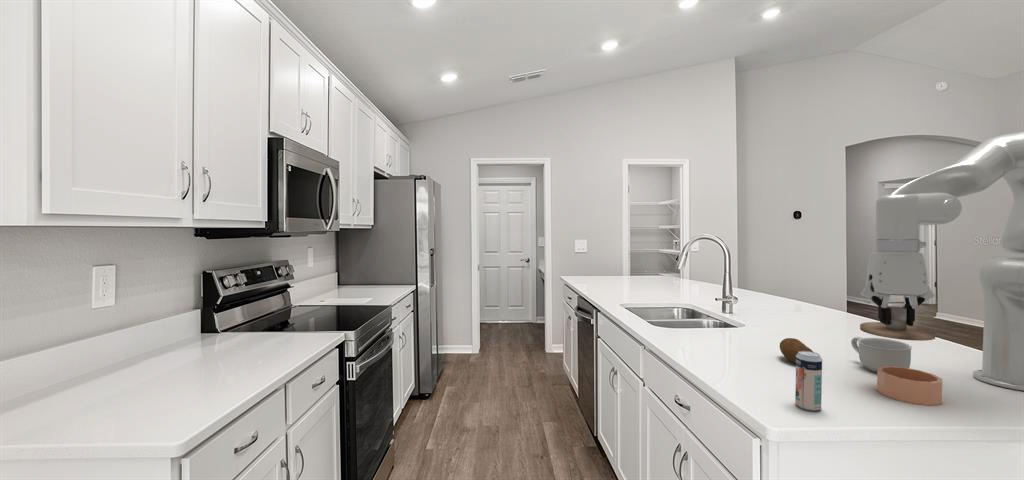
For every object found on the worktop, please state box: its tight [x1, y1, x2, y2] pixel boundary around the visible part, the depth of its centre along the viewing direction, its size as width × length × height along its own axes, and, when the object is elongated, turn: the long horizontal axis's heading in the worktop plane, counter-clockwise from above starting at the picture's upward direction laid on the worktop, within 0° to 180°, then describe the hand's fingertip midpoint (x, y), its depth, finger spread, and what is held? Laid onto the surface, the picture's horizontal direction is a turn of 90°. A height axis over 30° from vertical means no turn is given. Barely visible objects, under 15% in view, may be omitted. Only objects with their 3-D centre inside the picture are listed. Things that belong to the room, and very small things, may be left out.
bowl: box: [876, 366, 943, 407], centre depth 96 cm, size 11×11×5 cm
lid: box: [859, 305, 936, 342], centre depth 97 cm, size 13×13×6 cm
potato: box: [779, 337, 814, 365], centre depth 119 cm, size 7×12×7 cm, turn 8°
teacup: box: [850, 336, 912, 374], centre depth 113 cm, size 14×11×8 cm
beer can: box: [794, 351, 823, 412], centre depth 90 cm, size 5×5×12 cm
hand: (896, 323), depth 97 cm, fingers closed on lid, 3 cm apart
